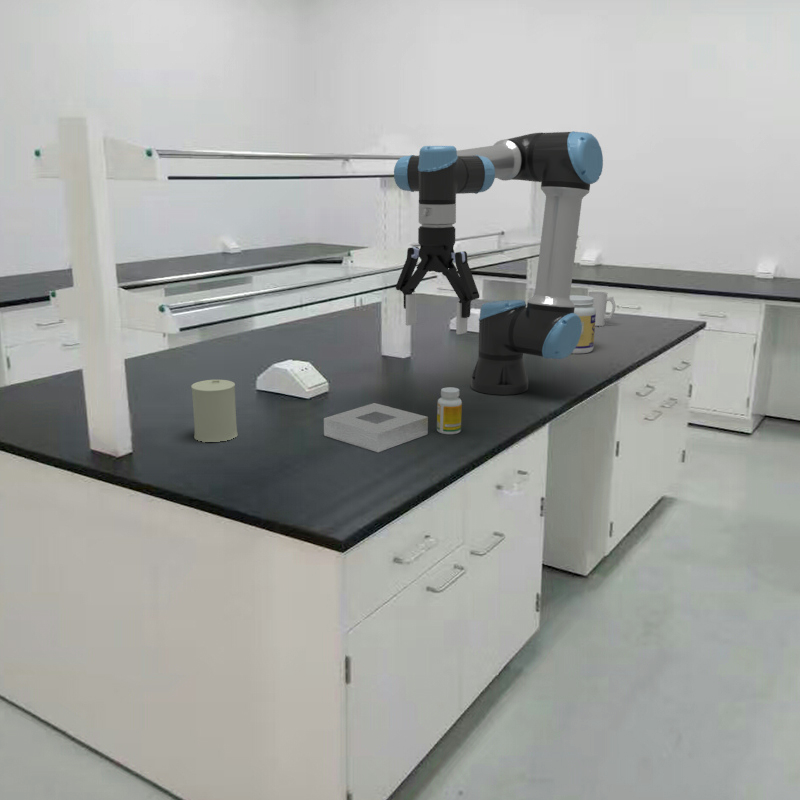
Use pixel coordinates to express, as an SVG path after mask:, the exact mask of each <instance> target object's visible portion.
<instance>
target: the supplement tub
mask: <svg viewBox="0 0 800 800" xmlns="http://www.w3.org/2000/svg"><path fill="white" fill-rule="evenodd" d="M570 300H571V301H572V303H573V304H574V305H575V309H574V313H575V314H576V315H578V316H579V317H580V319H581V323H582V331H581V336H580V339H579V342H578V344H577V346H576V348H575V349H574V350H573V352H572V353H571V354H574V355H575V354H577V355H578V354H579V355H580V354H587V353H591V352H592V351H593V350H594V348H595V346H594V344H595V332H596V330H595V328H596V327H595V318H596V309H595V308H594V307H593V306H592V305H593V304H594V298H593V297H589V296H588V295H582V294H581V295H579V294H578V295H576V294H574V295H573V294H572V295H571V294H570Z"/></svg>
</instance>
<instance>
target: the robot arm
mask: <svg viewBox="0 0 800 800" xmlns="http://www.w3.org/2000/svg"><path fill="white" fill-rule="evenodd" d="M602 150H603V149H602V147H601V145H600V143H599V141H598V139H597V138H596V136H594V135H593V134H592V133H589V132H582V131H560V132H559V131H557V132H534V133H528V134H524V135H520V136H519V135H518V136H515V137H512V138H507V139H500V140H499V141H496V142H495V143H494V144H493V145H488V146H481V147H474V148H466V149H460V150H459V149H457V148H456V147H455V146H454V145H424V146H422V147H421V148H420V150H419V153H418V155H414V154H413V155H412V154H411V155H404V156H401V157H400V158H398V160H397V161H396V163H395V166H394V168H393V179H394V181H395V184H396V186H397V187H398V188H399V189H400V190H401V191H404V192H406V191H407V192H411V193H414V192H418V223H419V224H420V225H421V226H419V227H418V228H417V229H418V233H417V234H418V237H417V238H418V240H417V241H418V242H417V243H418V245H420V247H418V246H414V247H408V248H407V251H406V252H407V253H406V259H405V261H404V264H403V266H402V269H401V272H400V275H399V276H398V277H399V278H398V280H397V283H396V285H395V289H396V290H397V291H400V292H401V293H402V294H403V309H405V326H408V327H409V326H413V325H416V324H418V323H417V322H418V321H417V319H418V318H417V315H418V314H417V310H418V309H417V303H418V302H417V301H418V297H417V296H418V294H417V293H416V291H415V290H416V289H417V288H418V286H419V285H420V283H421V282H422V280H423V279H424V278H425V276H426V275H427V273H428V272H429V273H430V272H434V273H438V274H439V273H441V274H442V275H443V276H445V278H446V279H447V281H448V283H449V284H450V286H451V288H452V289H453V291H454V293H455V295H456V296H457V297H458V299H459V301H458V302H457V301H456V321H455V323H456V325H455V326H456V327H455V329H456V330H455V331H456V332H455V334H456V335H462V334H465V333H468V318H470V317H471V305H472V304H471V302H472V301H473V300H477V299H479V298H480V293H479V290H478V288H477V285H476V281H475V279H474V276H473V274H472V271H471V268H470V266H469V262H468V261H469V260H468V253H467V251H456V252H455V250H454V247H455V246H454V245H455V244H456V228H455V226H453V225H454V224H456V222H457V209H456V208H457V195H458V194H463V195H464V194H475V195H477V194H479V193H484V192H486V191H488V190H489V189H491V187H492V186H493V184H494V182H495V179H497V180H501V181H511V180H514V181H516V180H517V181H519V180H520V181H527V182H535V183H541V184H540V190H541V191H542V192H543V193H544V196H545V202H544V211H543V213H544V214H543V218H542V219H543V221H542V228H541V229H542V230H541V237H540V246H539V254H538V262H537V272H536V280H535V287H534V288H535V289H534V295H533V296H532V297H531V298H530V299H528V300H527V303H526V301H525V300H524V299H505V300H504V299H502V300H495V301H494V300H493V301H488V302H485V303H483V304H482V305H481V307H480V309H479V319H478V321H479V323H478V324H479V326H478V358H477V361H476V363H475V366H474V369H473V372H472V375H471V376H470V377H471V378H470V388H471V389H472V390H474V391H476V392H479V393H483V394H489V395H499V396H506V395H507V396H509V395H517V394H522V393H525V392H527V391H528V390H529V377H528V374H527V370H526V367H525V363H524V354H525V355H531V356H536V357H542V358H545V359H547V360H548V359H554V360H562V359H566V358H568V357H569V356H570V355H571V354H573V353H572V352H573V350H574V349H575V348H576V346H577V344H578V342H579V339H580V336H581V331H582V323H581V319H580V317H579V316H578V315H576V314H575V313H574V309H575V305H574V304H573V303H572V301H571V300H570V295H571V288H572V283H573V273H574V266H575V257H576V250H577V241H578V236H579V235H578V233H579V225H580V219H581V210H582V201H583V199H584V197H586V196H587V195H588V194H589V193H590V188H591V185H592V184H595V183H597V182H598V181H599V180H600V176H601V175H602V173H603V167H604V157H603V151H602ZM419 259H420V262H419V264H418V261H419ZM454 263H455V264H454ZM415 269H416V270H415Z"/></svg>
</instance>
